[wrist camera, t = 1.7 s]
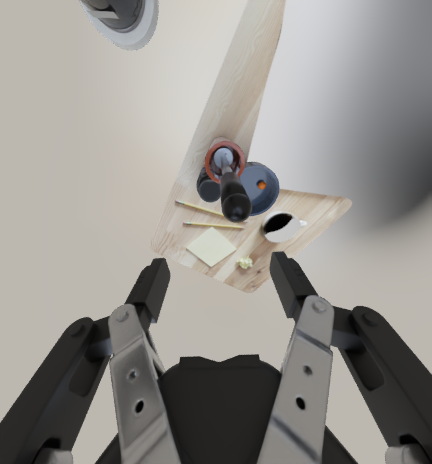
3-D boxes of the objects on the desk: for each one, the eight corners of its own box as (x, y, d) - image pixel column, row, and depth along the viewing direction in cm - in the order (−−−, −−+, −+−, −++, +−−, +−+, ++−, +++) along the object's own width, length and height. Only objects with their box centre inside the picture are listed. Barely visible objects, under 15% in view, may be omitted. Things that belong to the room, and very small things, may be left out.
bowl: (217, 195, 42) (217, 202, 38) (243, 151, 36) (246, 154, 32) (253, 215, 45) (257, 223, 41) (282, 177, 40) (290, 182, 35)
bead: (255, 185, 40) (257, 188, 39) (260, 178, 39) (262, 181, 38) (261, 189, 41) (263, 191, 39) (266, 182, 40) (268, 185, 38)
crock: (206, 153, 37) (198, 172, 20) (216, 131, 34) (217, 131, 17) (224, 164, 38) (231, 190, 21) (235, 144, 36) (253, 155, 19)
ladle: (210, 161, 25) (197, 224, 8) (219, 142, 23) (228, 170, 6) (226, 171, 25) (246, 247, 9) (236, 153, 24) (282, 203, 7)
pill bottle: (210, 158, 37) (209, 167, 28) (228, 176, 40) (232, 190, 30) (194, 178, 40) (188, 192, 30) (212, 193, 42) (211, 211, 33)
